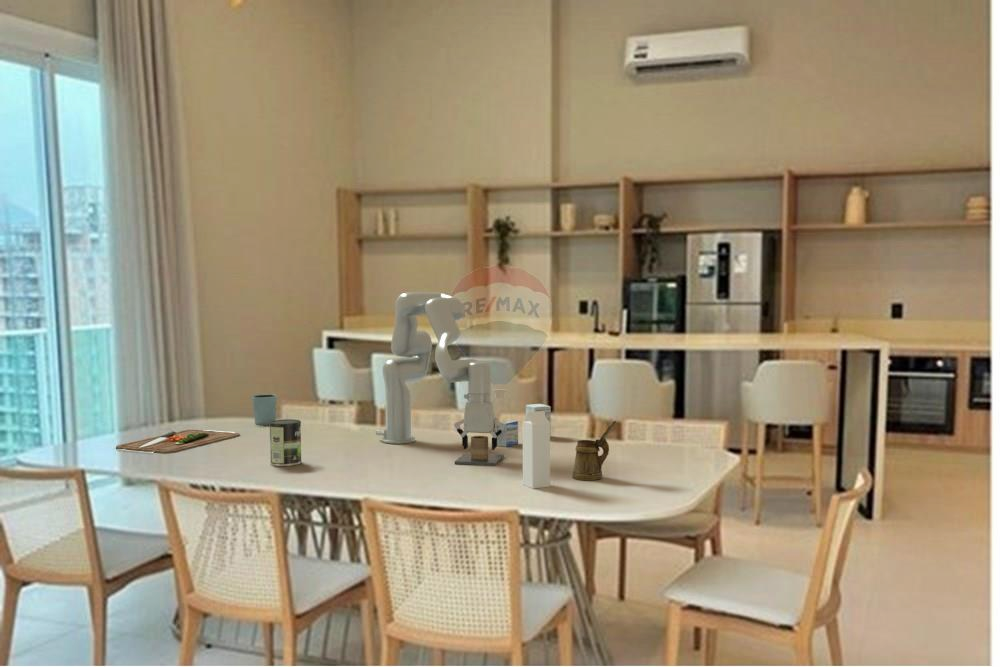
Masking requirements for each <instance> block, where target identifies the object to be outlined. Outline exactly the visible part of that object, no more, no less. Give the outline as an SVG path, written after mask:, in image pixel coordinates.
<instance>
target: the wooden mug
mask: <svg viewBox="0 0 1000 667" xmlns="http://www.w3.org/2000/svg"><path fill="white" fill-rule="evenodd" d="M616 424H617V421H616V420H615V421H613V422H612V423H611V424H610V426H608V428H607V429H606V431H605V432H604V433H603V434H602V436H601V437H600V438H598V439H597V438H596V439H595V440H592V439H580V440H577V443H576V444H577V445H576V446H575V461H574V467H573V471H572V475H571V476H572V479H574V480H577V481H578V480H579V481H585V482H586V481H597V480H601V478H603V472H602V467H603V464H604V462H605V460H606V459H607V457H608V455H609V452H610V445H609V443H608V441H607V440H606V438H607V437H608V435H609V434H610V432H611V431H612V430H613V428H614V427H615V425H616ZM600 448H601V449H602V451H603V452H602V454H601V455H599V452H600Z"/></svg>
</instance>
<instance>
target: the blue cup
mask: <svg viewBox="0 0 1000 667" xmlns="http://www.w3.org/2000/svg"><path fill="white" fill-rule="evenodd" d="M251 401H252V406H253V414H254V424H255V425H256V426H257V425H258V426H259V425H260V426H267V425H269V422H271V421H274V420H277V419H276V418H277V417H276V413H277V395H276V394H271V393H269V394H268V393H266V394H256V395H255V394H254V395H253V396H252V397H251ZM269 426H270V425H269Z"/></svg>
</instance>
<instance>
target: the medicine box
mask: <svg viewBox="0 0 1000 667" xmlns="http://www.w3.org/2000/svg"><path fill="white" fill-rule="evenodd" d="M500 422H501V423H503V424H505V427H504V429H503V431H502V433H501V434H500V435H499V436H498V437H497V447H504V448H507V447H512V446H515V445H518V444H519V421H518V420H513V419H511V420H505V421H500ZM495 428H496V432H498V431H499V429H500V427H499V426H498V425H496V424H495Z"/></svg>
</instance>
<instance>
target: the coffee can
mask: <svg viewBox="0 0 1000 667" xmlns="http://www.w3.org/2000/svg"><path fill="white" fill-rule="evenodd" d="M301 424H302V421H301V420H299V419H292V418H291V419H290V418H286V419H276V420H274V421H271V422H269V456H270V457H269V459H270V466H273V467H274V466H275V467H291V466H296V465H300V464H302V437H301V436H302V430H301V428H302V427H301Z"/></svg>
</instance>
